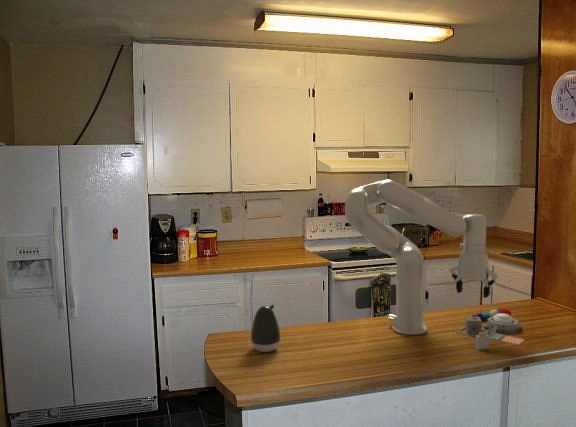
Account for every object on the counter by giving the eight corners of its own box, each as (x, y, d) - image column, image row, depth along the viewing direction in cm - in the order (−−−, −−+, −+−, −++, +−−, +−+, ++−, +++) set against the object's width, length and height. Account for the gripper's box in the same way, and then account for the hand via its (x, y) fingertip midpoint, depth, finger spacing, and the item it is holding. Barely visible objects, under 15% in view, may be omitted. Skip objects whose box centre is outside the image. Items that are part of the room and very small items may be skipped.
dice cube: (481, 334, 176) (481, 321, 175) (467, 334, 177) (467, 320, 176) (479, 330, 181) (479, 316, 180) (465, 329, 182) (465, 316, 181)
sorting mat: (456, 332, 178) (456, 331, 178) (465, 326, 185) (465, 326, 185) (517, 346, 164) (517, 345, 164) (525, 339, 170) (525, 338, 170)
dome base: (484, 328, 182) (484, 321, 181) (494, 322, 189) (494, 314, 189) (512, 334, 175) (512, 326, 175) (521, 327, 182) (521, 319, 182)
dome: (490, 324, 182) (491, 315, 181) (497, 320, 186) (497, 311, 186) (508, 328, 177) (508, 318, 177) (514, 323, 182) (514, 314, 182)
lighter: (478, 349, 162) (478, 326, 161) (475, 347, 164) (475, 324, 163) (497, 347, 163) (497, 324, 162) (494, 345, 165) (494, 322, 164)
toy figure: (473, 326, 190) (514, 321, 187) (471, 313, 190) (512, 308, 187) (470, 321, 198) (510, 316, 194) (468, 309, 198) (507, 304, 194)
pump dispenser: (286, 346, 169) (285, 304, 167) (270, 357, 160) (269, 312, 158) (262, 342, 174) (260, 300, 172) (245, 352, 165) (243, 308, 164)
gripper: (446, 247, 179) (445, 292, 181) (494, 252, 167) (493, 301, 169) (455, 244, 184) (453, 288, 186) (502, 249, 173) (500, 296, 174)
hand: (472, 294), depth 177 cm, fingers open, 9 cm apart
